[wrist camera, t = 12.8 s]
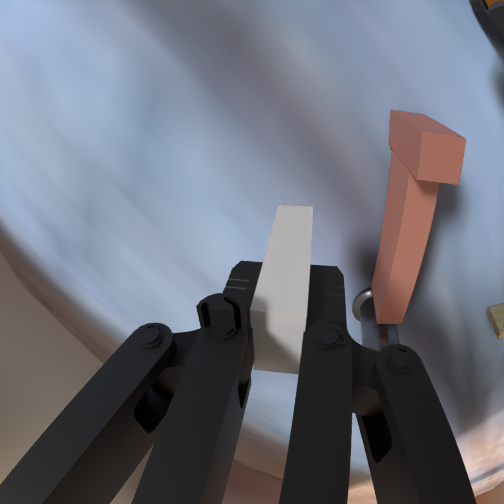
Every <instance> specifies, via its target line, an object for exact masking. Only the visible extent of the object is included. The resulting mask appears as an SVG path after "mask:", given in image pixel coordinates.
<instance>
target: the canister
mask: <svg viewBox="0 0 504 504" xmlns="http://www.w3.org/2000/svg"><path fill="white" fill-rule="evenodd" d="M471 2H472V4H473V6H474V7H475V9H476V11H477V13H478V15H479V16H480V18H481V20H482V21H483V23H484V24H485V25H486V27H487V28H488V29H489V31H490V32H491V33H492V34H493V35H494V37H495V38H496V39H497V40H498V41H499V42H500V43H501V44H502V45H503V46H504V0H471Z"/></svg>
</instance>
